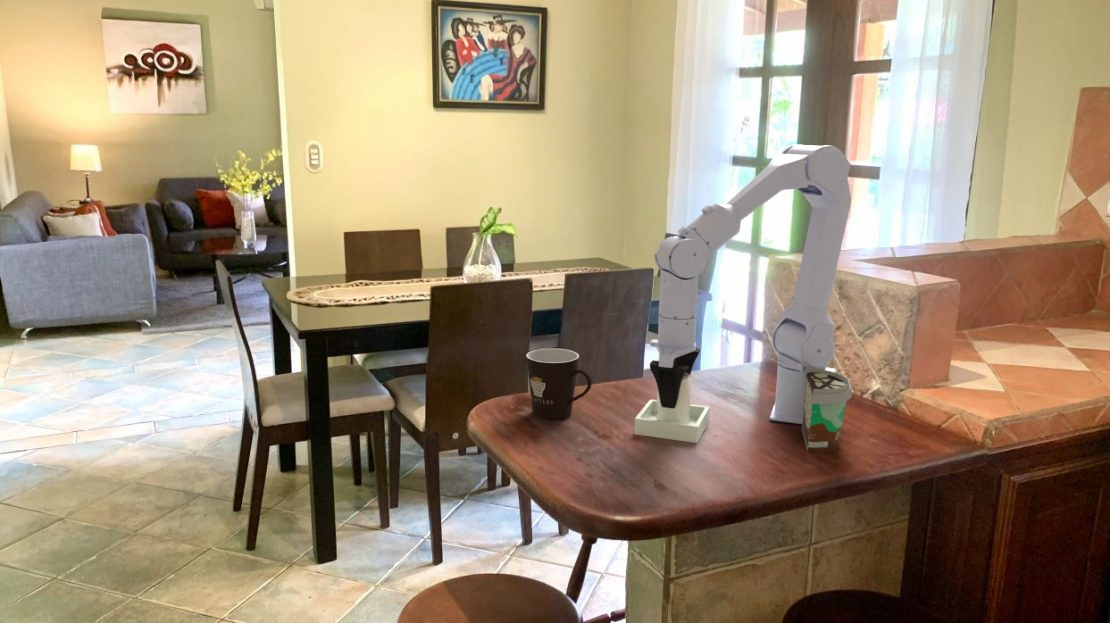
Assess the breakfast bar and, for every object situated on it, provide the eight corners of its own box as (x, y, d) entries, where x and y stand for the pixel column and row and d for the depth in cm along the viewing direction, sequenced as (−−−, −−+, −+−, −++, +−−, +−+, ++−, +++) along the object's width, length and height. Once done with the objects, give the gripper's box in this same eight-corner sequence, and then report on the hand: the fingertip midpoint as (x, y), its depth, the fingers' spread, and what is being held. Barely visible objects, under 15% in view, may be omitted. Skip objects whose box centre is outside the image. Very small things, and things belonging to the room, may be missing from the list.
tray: (708, 422, 133) (709, 406, 132) (697, 443, 124) (698, 426, 123) (649, 414, 136) (650, 399, 135) (634, 434, 127) (634, 418, 126)
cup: (692, 421, 131) (694, 373, 129) (685, 432, 126) (688, 382, 125) (660, 416, 133) (662, 369, 131) (652, 427, 128) (654, 378, 126)
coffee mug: (518, 408, 138) (518, 351, 136) (565, 402, 141) (566, 346, 139) (545, 431, 128) (545, 370, 125) (594, 424, 131) (596, 364, 129)
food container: (852, 459, 118) (859, 393, 116) (808, 455, 119) (813, 390, 117) (841, 429, 130) (846, 369, 128) (801, 426, 131) (806, 366, 129)
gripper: (662, 304, 134) (659, 383, 137) (640, 323, 121) (637, 410, 124) (705, 307, 131) (701, 388, 134) (687, 327, 118) (683, 416, 121)
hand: (673, 399), depth 129 cm, fingers open, 7 cm apart
